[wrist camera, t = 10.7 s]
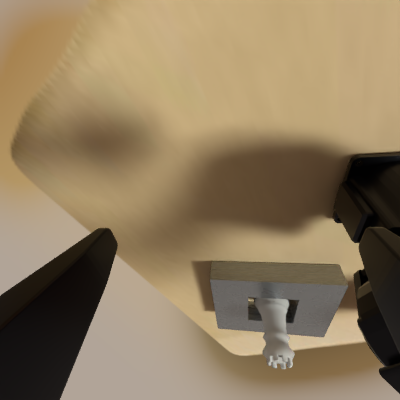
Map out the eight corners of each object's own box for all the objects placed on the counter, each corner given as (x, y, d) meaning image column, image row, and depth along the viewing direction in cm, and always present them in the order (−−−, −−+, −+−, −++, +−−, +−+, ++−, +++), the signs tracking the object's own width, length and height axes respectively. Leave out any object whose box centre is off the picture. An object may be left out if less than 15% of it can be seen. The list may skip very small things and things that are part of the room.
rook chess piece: (273, 304, 31) (283, 375, 24) (245, 293, 30) (248, 363, 23) (295, 290, 28) (313, 365, 22) (266, 277, 27) (275, 352, 21)
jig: (339, 264, 24) (348, 285, 22) (318, 317, 31) (323, 337, 29) (211, 261, 27) (209, 279, 25) (219, 310, 34) (218, 328, 32)
